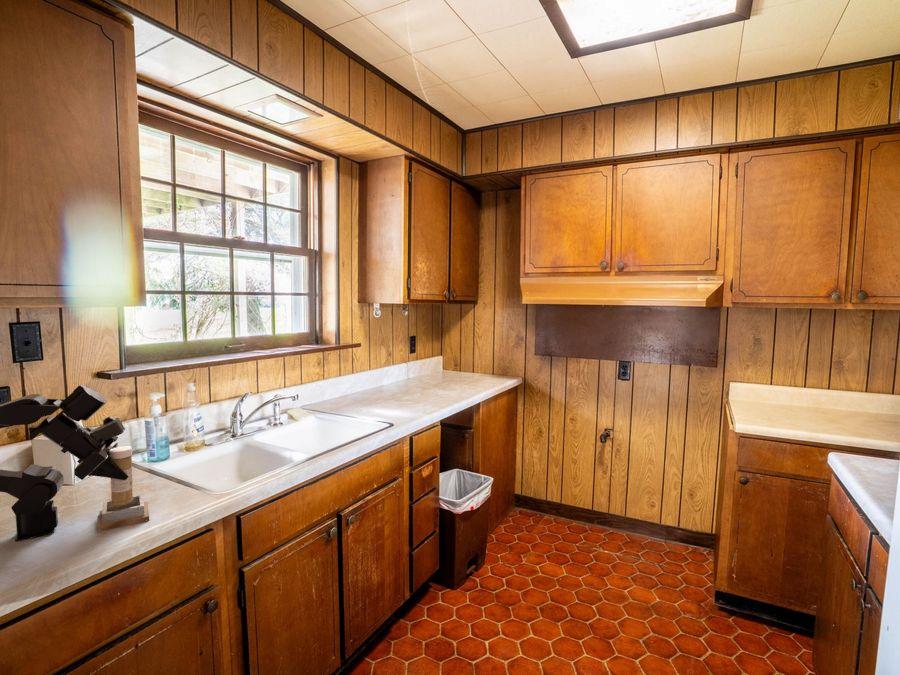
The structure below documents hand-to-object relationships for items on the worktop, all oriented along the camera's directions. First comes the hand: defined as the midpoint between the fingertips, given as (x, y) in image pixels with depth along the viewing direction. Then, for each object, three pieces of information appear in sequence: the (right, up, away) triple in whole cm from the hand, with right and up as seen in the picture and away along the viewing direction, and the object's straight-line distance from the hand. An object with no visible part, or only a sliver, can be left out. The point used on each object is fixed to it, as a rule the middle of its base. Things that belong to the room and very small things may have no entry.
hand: (128, 475), depth 116 cm
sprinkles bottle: (-1, -7, 0) cm, 7 cm away
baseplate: (-1, -10, 0) cm, 11 cm away
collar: (-1, -10, 0) cm, 11 cm away
